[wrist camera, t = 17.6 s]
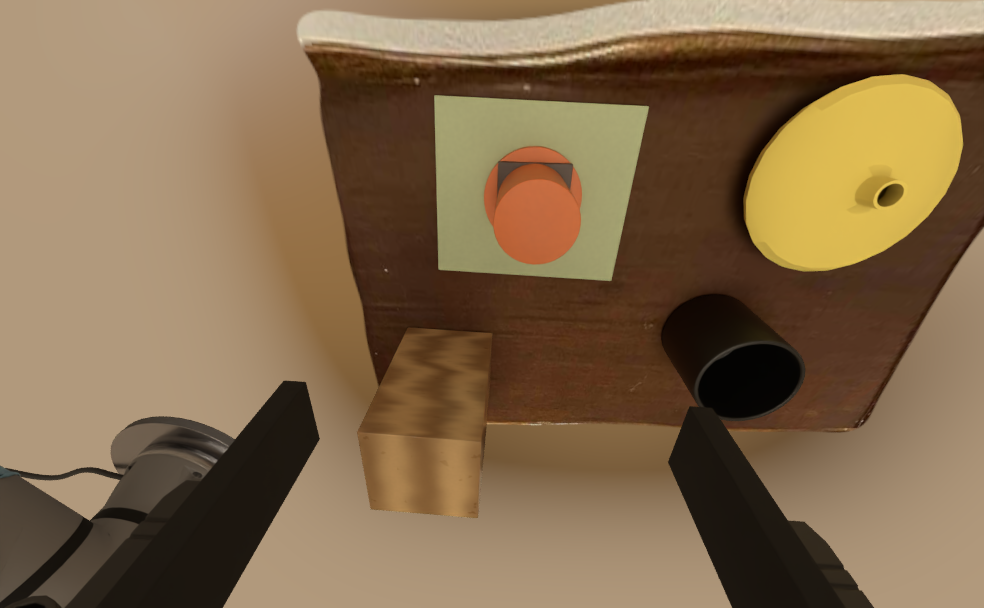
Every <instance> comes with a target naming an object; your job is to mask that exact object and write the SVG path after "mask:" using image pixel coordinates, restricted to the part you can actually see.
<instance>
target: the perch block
mask: <svg viewBox="0 0 984 608" xmlns="http://www.w3.org/2000/svg"><path fill="white" fill-rule="evenodd" d="M491 352H492V333H483V332H469V331H454V330H440V329H425V328H411V327H408V328H407V330H406V332H405V334H404V337H403V339H402V341H401V343H400V345H399V347H398V349H397V351H396V353H395V355H394V357H393V359H392V361H391V363H390V366H389V368H388V370H387V372H386V374H385V376H384V378H383V380H382V382H381V384H380V386H379V388H378V390H377V392H376V395H375V397H374V399H373V401H372V403H371V405H370V407H369V409H368V411H367V413H366V416H365V417H364V419H363V422H362V424H361V426H360V428H359V430H358V432H357V434H358V440H359V446H360V451H361V456H362V463H363V468H364V474H365V479H366V485H367V490H368V497H369V502H370V508H371V509H374V510H386V511H398V512H410V513H423V514H434V515H446V516H458V517H471V518H478V512H479V501H480V490H481V478H482V468H483V457H484V447H485V436H486V425H487V414H488V403H489V389H490V370H491Z"/></svg>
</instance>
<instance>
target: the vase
mask: <svg viewBox="0 0 984 608" xmlns="http://www.w3.org/2000/svg"><path fill="white" fill-rule="evenodd" d="M962 147H963V139H962V129H961V120H960V115H959V113H958V111H957V110H956V108H955V106H954V104H953V102H952V100H951V98H950V97H949V95H948V94H947V93H945V92H944V91H943V90H941V89H940V88H939V87H937V86H936V85H934V84H933V83H932V82H930V81H929V80H925V79H920V78H916V77H912V76H908V75H904V74H900V75H886V76H873V77H870V78H867V79H864V80H861V81H858V82H855V83H852V84H848V85H845V86H842V87H840V88H838V89H836V90H834V91H832V92H830V93H828V94H827V95H825V96H823V97H822V98H820V99H818V100H816V101H815V102H813V103H811V104H809V105H808V106H806V107H804V108H803V109H802V110H800V111H799V112H798V113H797V114H796V115H795V116H793V117H792V118H791V119H790V120H789V121H788V122H786V123H785V124H784V125H783V126H782V127H781V128H780V129H779V130H778V131H777V132H776V134H775V135H774V136H773V137H772V139H771V140H770V141H769V142H768V144H767V145H766V146H765V147H764V149H763V150H762V151H761V153H760V155H759V157H758V159H757V161H756V163H755V165H754V167H753V169H752V171H751V173H750V174H749V178H748V182H747V186H746V190H745V194H744V198H743V203H744V220H745V223H746V226H747V229H748V231H749V234H750V237H751V239H752V241H753V243H754V244H755V246H756V247H757V248H758V249H759V250H760V251H761V253H762V254H763V255H764V256H765V257H766V258H768V259H770V260H771V261H773V262H775V263H777V264H778V265H780V266H782V267H786V268H790V269H795V270H799V271H827V270H831V269H835V268H839V267H844V266H848V265H852V264H854V263H857V262H860V261H862V260H864V259H866V258H869V257H871V256H873V255H875V254H878V253H880V252H882V251H884V250H886V249H887V248H889V247H890V246H892V245H893V244H895V243H896V242H898V241H899V240H901V239H902V238H904V237H905V236H907V235H908V234H909V233H910V232H911V231H912V230H913V229H914V228H916V227H917V226H918V225H919V224H920V223H921V222H922V221H923V220H924V219H925V218H927V217H928V215H929V214H930V213H931V212H932V210H933V209H934V208H935V206H936V205H937V204H938V203H939V201H940V200H941V199H942V197H943V196H944V195H945V193H946V191H947V189H948V187H949V185H950V183H951V181H952V179H953V177H954V175H955V173H956V171H957V169H958V165H959V160H960V156H961V151H962Z"/></svg>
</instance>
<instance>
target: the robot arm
mask: <svg viewBox="0 0 984 608" xmlns="http://www.w3.org/2000/svg"><path fill="white" fill-rule="evenodd" d="M319 439H320V438H319V434H318V430H317V426H316V422H315V418H314V414H313V410H312V406H311V401H310V397H309V393H308V389H307V385H306V382H297V381H283V383H282V384H281V385H280V386H279V387H278V388H277V390H276V391H275V392H274V393H273V394H272V396H271V397H270V398H269V399H268V400H267V402H266V403H265V404H264V405H263V407H262V408H261V409H260V410H259V412H257V414H256V415H255V416H254V417H253V419H252V420H251V421H250V422H249V423H248V425H247V426H246V427H245V428H244V430H243V431H242V432H241V433H240V434H239V436H238V437H237V438H236V439H235V440H234V441H233V443H232V444H231V445H230V446H229V447H228V449H227V450H226V451H225V452H224V454H223V455H222V456H221V457H220V458H219V460H217V459H216V458H214V457H212V456H211V455H209V454H207V453H205V452H202V451H200V450H197V449H195V448H192V447H188V446H184V445H179V444H170V443H163V444H155V445H152V446H149V447H147V448H145V449H144V450H143V451H142V452H140V453H139V454H138V455H137V456H136V457H135V458H134V459H133V460H132V461H131V462H130V463H129V465H128V467H127V468H126V470H125V473H124V475H122V474H117V473H113V472H110V471H106V470H103V469H99V468H93V467H89V468H88V467H87V468H80V469H76V470H73V471H70V472H68V473H65V474H61V475H52V476H51V475H39V474H33V473H28V472H23V471H18V470H13V469H8V468H3V467H2V466H0V608H223V606H224V604H225V603H226V601H227V599H228V597H229V596H230V594H231V592H232V591H233V588H234V587H235V585H236V584H237V582H238V580H239V578H240V577H241V575H242V573H243V571H244V570H245V568H246V566H247V564H248V563H249V561H250V559H251V557H252V556H253V554H254V552H255V551H256V549H257V547H258V545H259V544H260V542H261V540H262V538H263V537H264V535H265V533H266V531H267V530H268V528H269V526H270V524H271V523H272V521H273V519H274V517H275V516H276V514H277V512H278V511H279V509H280V507H281V505H282V504H283V502H284V500H285V498H286V497H287V495H288V493H289V491H290V490H291V488H292V486H293V484H294V483H295V481H296V479H297V477H298V476H299V474H300V472H301V471H302V469H303V467H304V465H305V464H306V462H307V460H308V458H309V457H310V455H311V453H312V451H313V450H314V448H315V446H316V445H317V442H318V441H319ZM668 463H669V465H670V467H671V470H672V472H673V475H674V477H675V479H676V481H677V484H678V486H679V488H680V490H681V493H682V495H683V497H684V499H685V501H686V504H687V506H688V508H689V511H690V513H691V515H692V518H693V520H694V522H695V524H696V527H697V529H698V531H699V533H700V535H701V538H702V540H703V543H704V545H705V547H706V549H707V551H708V554H709V556H710V558H711V561H712V563H713V565H714V567H715V569H716V572H717V574H718V577H719V579H720V581H721V583H722V586H723V588H724V590H725V592H726V595H727V597H728V599H729V601H730V604H731V606H732V608H874V607H873V606H872V604H871V603H870V602H869V600H868V599H867V597H866V596H865V595H864V593H863V592H862V591H860V590H859V589H858V585H857V584H856V582H855V581H854V579H853V578H852V577H851V575H850V574H849V573H848V571H846V570H844V567H843V564H842V563H841V561H840V560H839V559H838V557H837V556H836V555H835V553H834V552H833V550H832V549H831V548H830V546H829V545H828V544H827V543H826V541H825V540H823V539H822V538H821V537H820V536H819V535H818V534H817V533H816V532H814V530H813V529H812V528H811V527H809V526H808V525H807V524H806V523H805V522H800V521H788V520H787V519H786V517H785V516H784V514H783V513H782V511H781V510H780V508H779V507H778V505H777V504H776V502H775V501H774V499H773V498H772V496H771V495H770V493H769V492H768V490H767V489H766V488H765V486H764V484H763V483H762V481H761V480H760V478H759V477H758V475H757V474H756V472H755V471H754V469H753V468H752V466H751V465H750V463H749V462H748V460H747V459H746V457H745V456H744V455H743V453H742V451H741V450H740V448H739V447H738V445H737V444H736V442H735V441H734V439H733V438H732V436H731V435H730V433H729V432H728V430H727V429H726V427H725V426H724V424H723V423H722V421H721V420H720V418H719V417H718V415H717V414H716V412H715V411H714V409H713V408H706V407H691V406H690V407H689V409H688V412H687V414H686V417H685V420H684V422H683V425H682V427H681V430H680V433H679V435H678V438H677V440H676V443H675V446H674V448H673V451H672V453H671V456H670V458H669V461H668ZM84 472H89V473H96V474H99V475H103V476H106V477H110V478H114V479H118V480H120V481H119V483H118V484H117V486H116V487H115V489H114V491H113V492H112V494H111V496H110V497H109V499H108V501H107V502H106V504H105V506H104V507H103V508H102V509H101V510H100V511H99V512H98V513H97V514H96V515H95V516H94V517H93V518H92V519H91V520H90V521H89V520H87V519H86V518H84V517H83V516H81V515H80V514H78V513H77V512H75V511H73V510H72V509H70V508H69V507H67V506H65V505H64V504H62V503H61V502H59V501H58V500H56V499H54V498H53V497H51V496H50V495H48V494H46V493H45V492H43V491H42V490H40V489H38V488H37V487H35V486H34V485H32V484H30V483H29V482H27V481H26V480H24V479H22V478H21V477H25V478H30V479H37V480H59V479H64V478H67V477H70V476H73V475H75V474H79V473H84Z"/></svg>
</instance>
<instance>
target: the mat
mask: <svg viewBox="0 0 984 608" xmlns="http://www.w3.org/2000/svg"><path fill="white" fill-rule="evenodd" d="M434 104H435V145H436V186H437V226H438V267H439V270H451V271H466V272H482V273H497V274H513V275H528V276H544V277H559V278H575V279H590V280H606V281H611V279H612V274H613V270H614V265H615V261H616V256H617V251H618V247H619V242H620V238H621V233H622V228H623V224H624V219H625V215H626V210H627V205H628V201H629V196H630V191H631V187H632V182H633V178H634V173H635V168H636V164H637V159H638V155H639V150H640V145H641V141H642V136H643V131H644V127H645V122H646V118H647V113H648V108H649V106H633V105H614V104H594V103H575V102H555V101H536V100H516V99H497V98H477V97H458V96H438V95H435V96H434ZM527 146H542V147H546V148H550V149H552V150H555V151H557V152H558V153H560V154H561V155H563V156H564V157H565V158H566V159H567V160H568V161H569V162H570V163H572V164H573V167H574V168H575V170H576V172H577V174H578V176H579V179H580V182H581V187H582V202H581V207H580V214H581V226H580V231H579V234H578V237H577V239H576V241H575V243H574V244H573V246H572V247H571V248H570V249H569V250H568V251H567V252H566V253H565V254H564V255H563V256H561V257H560V258H558V259H556V260H554V261H552V262H549V263H545V264H536V265H533V264H526V263H522V262H519V261H517V260H515V259H513V258H512V257H510V256H509V255H508V254H506V253H505V252H504V250H503V249H502V248H501V247H500V245H499V244H498V242H497V239H496V237H495V234H494V228H493V226H492V224H491V223H490V221H489V219H488V217H487V214H486V211H485V206H484V190H485V186H486V182H487V179H488V177H489V175H490V173H491V171H492V169H493V168H494V166H495V165H496V164H497V163H498V161H500V160H501V159H502V158H503V157H504V156H506V155H507V154H509V153H510V152H512V151H514V150H516V149H519V148H522V147H527Z"/></svg>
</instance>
